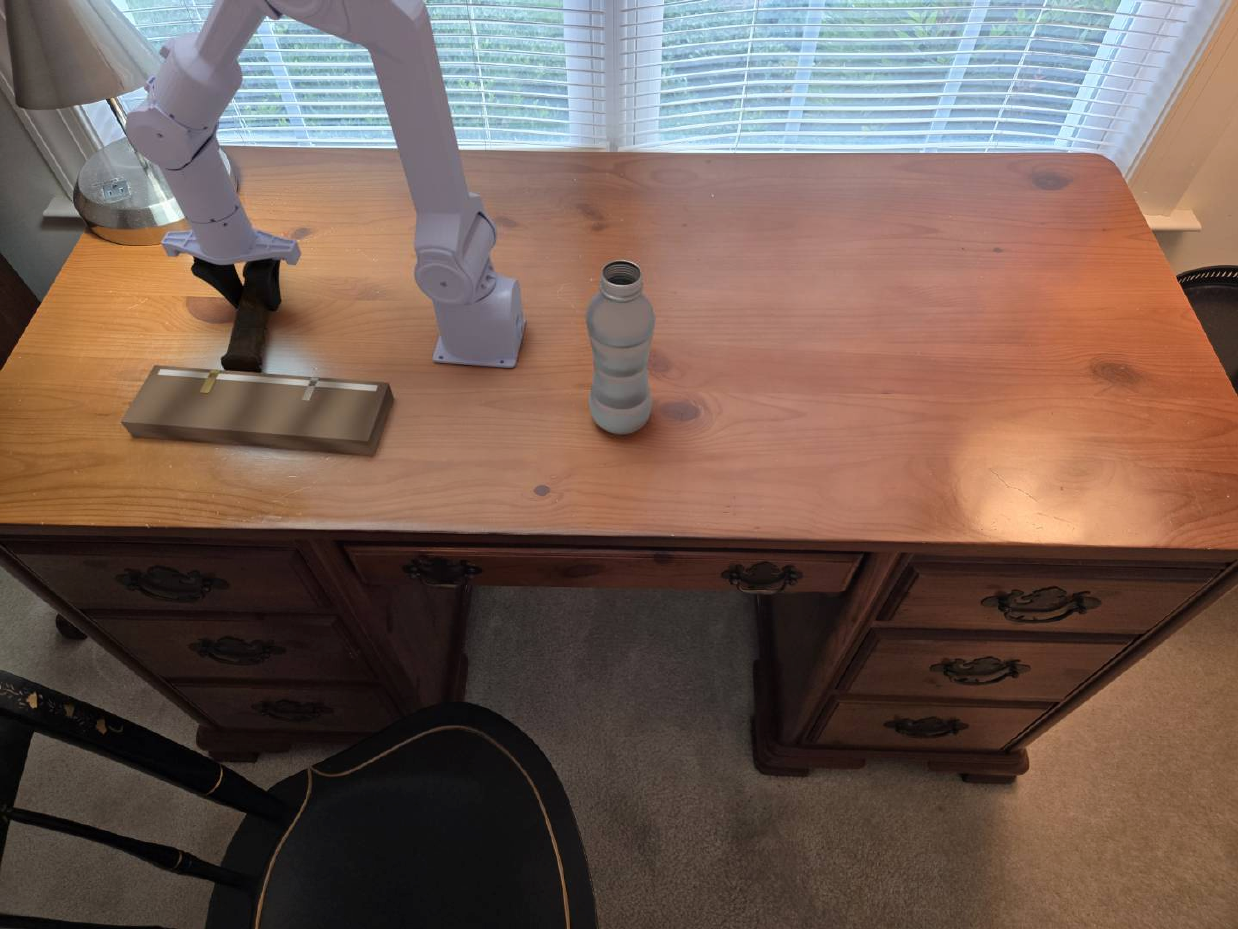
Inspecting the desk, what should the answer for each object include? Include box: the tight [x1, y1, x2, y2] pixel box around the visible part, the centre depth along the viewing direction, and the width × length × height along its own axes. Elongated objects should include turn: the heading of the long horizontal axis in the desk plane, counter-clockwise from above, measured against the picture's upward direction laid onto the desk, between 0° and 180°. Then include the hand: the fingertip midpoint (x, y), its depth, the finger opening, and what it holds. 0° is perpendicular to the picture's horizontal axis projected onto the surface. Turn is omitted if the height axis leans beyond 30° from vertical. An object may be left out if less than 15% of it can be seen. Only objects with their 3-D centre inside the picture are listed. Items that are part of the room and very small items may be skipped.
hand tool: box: [220, 261, 270, 373], centre depth 92 cm, size 19×4×5 cm, turn 4°
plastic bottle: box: [585, 259, 656, 436], centre depth 77 cm, size 6×7×20 cm
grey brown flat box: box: [120, 364, 395, 457], centre depth 84 cm, size 26×8×3 cm, turn 85°
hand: (258, 304), depth 94 cm, fingers closed on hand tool, 4 cm apart
